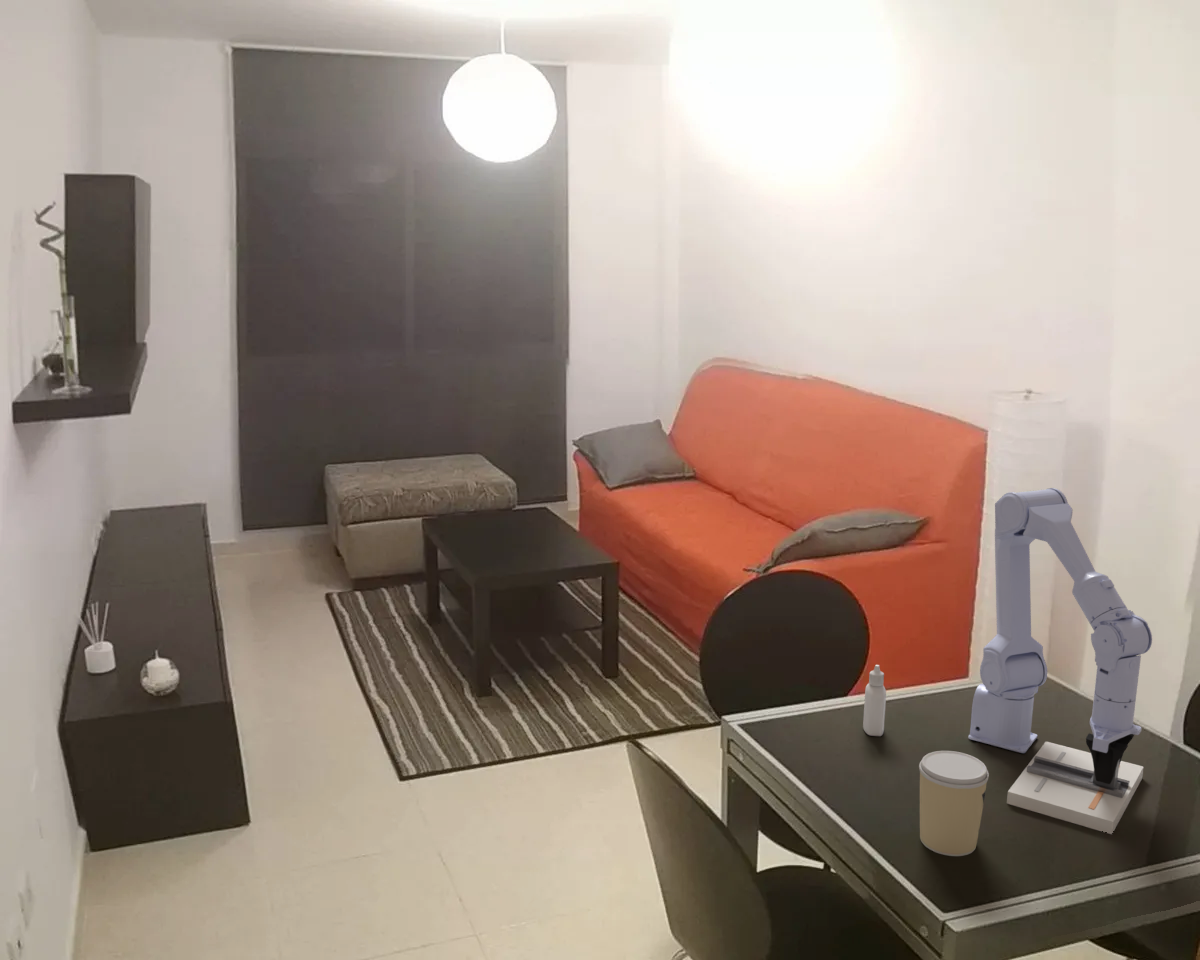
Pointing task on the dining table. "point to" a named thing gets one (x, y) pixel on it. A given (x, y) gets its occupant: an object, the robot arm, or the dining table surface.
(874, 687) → the eye dropper bottle
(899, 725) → the dining table surface
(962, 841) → the coffee cup
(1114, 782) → the fader tab
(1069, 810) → the console
